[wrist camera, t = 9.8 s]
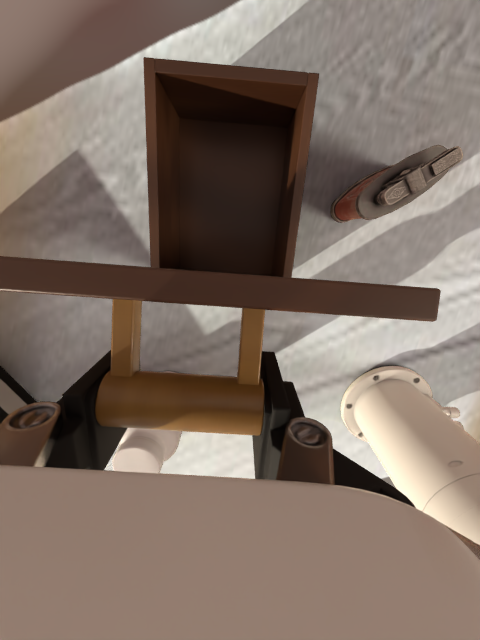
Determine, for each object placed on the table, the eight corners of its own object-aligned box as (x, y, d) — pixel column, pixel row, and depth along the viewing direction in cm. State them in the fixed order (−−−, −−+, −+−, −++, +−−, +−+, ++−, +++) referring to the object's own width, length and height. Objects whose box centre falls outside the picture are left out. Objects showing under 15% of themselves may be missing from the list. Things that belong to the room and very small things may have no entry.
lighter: (338, 229, 30) (382, 228, 21) (325, 203, 29) (365, 188, 20) (403, 187, 29) (483, 165, 20) (391, 158, 28) (469, 120, 19)
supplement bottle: (149, 364, 36) (103, 432, 24) (197, 374, 36) (175, 445, 24) (144, 404, 38) (99, 485, 26) (189, 413, 39) (165, 496, 26)
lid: (-102, 248, 6) (-93, 456, 6) (442, 288, 6) (414, 486, 7) (149, 284, 23) (147, 339, 24) (290, 294, 24) (285, 349, 24)
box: (173, 111, 27) (143, 57, 18) (295, 122, 27) (319, 73, 19) (174, 273, 32) (151, 287, 24) (276, 280, 32) (288, 297, 24)
